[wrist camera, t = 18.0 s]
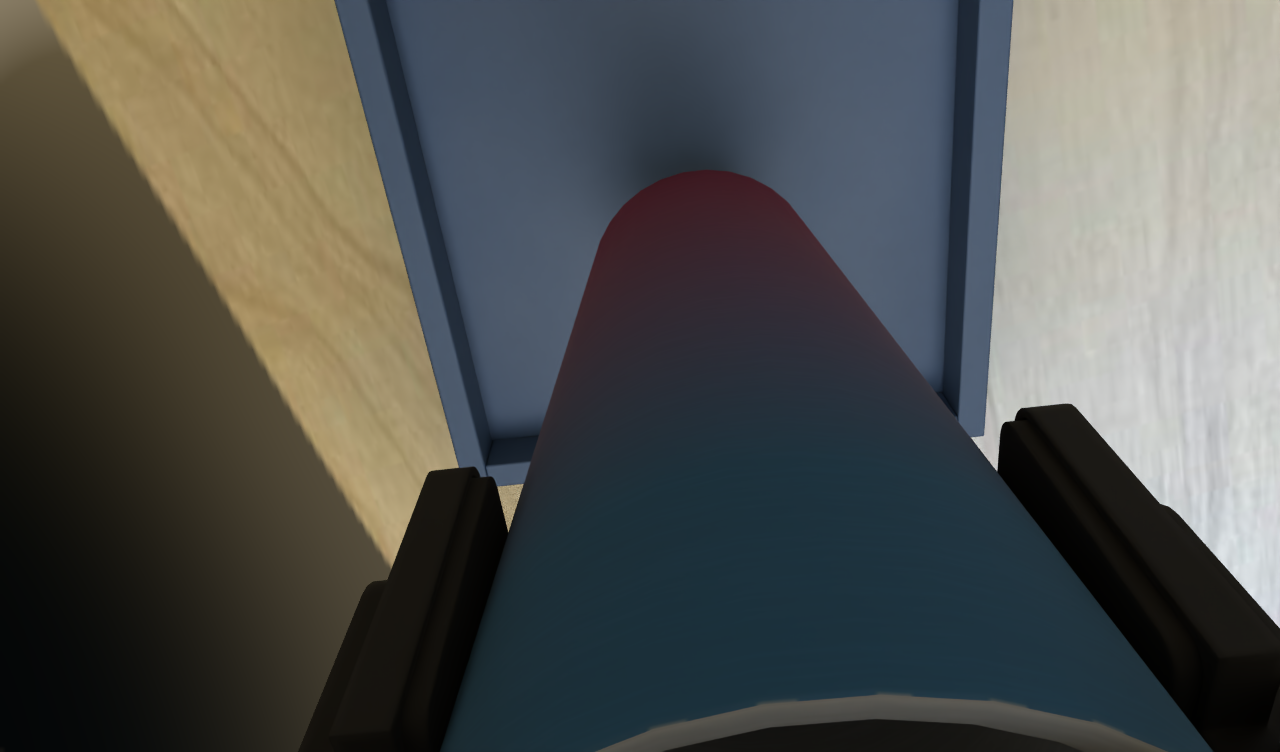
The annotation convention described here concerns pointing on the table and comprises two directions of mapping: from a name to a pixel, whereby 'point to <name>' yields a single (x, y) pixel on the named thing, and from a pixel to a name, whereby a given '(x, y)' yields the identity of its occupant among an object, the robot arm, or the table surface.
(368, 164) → the table surface
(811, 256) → the cup
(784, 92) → the tray
